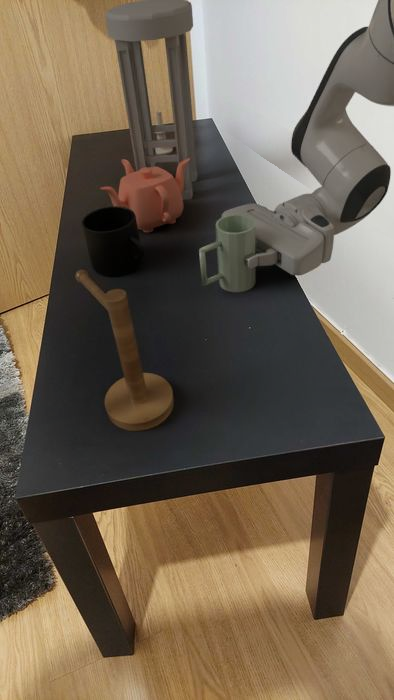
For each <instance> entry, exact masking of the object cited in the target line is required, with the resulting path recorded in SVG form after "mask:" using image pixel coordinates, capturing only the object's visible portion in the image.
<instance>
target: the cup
mask: <svg viewBox="0 0 394 700" xmlns="http://www.w3.org/2000/svg"><path fill="white" fill-rule="evenodd" d="M221 217H222V216H221ZM221 217H220V218H219V219H217V220H216V223H215V237H216V238H215V241H214V242H211V243H209V244H207V245H205V246H202V247H200V248H199V249H198V254H199V267H200V279H201V285H202V286H203V287H206V286H209V285H211V284H213V283H215V282H216V281H218V285H219V286H220V288H221V289H223V290H224V291H226V292H228V293H229V292H230V293H243V292H247V291H249V290H251V289H253V288H254V286H255V285H256V279H257V266H256V267H254V268H252V269H250V268H249V267H247V266H246V265H244V257H245V256H246V255H249V254H250V253H252V252H253V253H254V254H257V253H256V222H255V220H254V219H253V218H251V217H250V216H247V215H242V214H233V215H227V216H225V217H222V218H221ZM214 249H216V256H217V274H215V275H213V276H210V277H208V274H207V273H208V272H207V262H206V261H207V260H206V253H208V252H210V251H213V250H214Z"/></svg>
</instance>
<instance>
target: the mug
mask: <svg viewBox="0 0 394 700" xmlns="http://www.w3.org/2000/svg"><path fill="white" fill-rule="evenodd" d="M81 227H82V233H83V236H84V239H85V243H86V244H85V245H86V248H87V251H88V256H89V259H90V264H91V267H92V269H93V270H94V272H96V273H97V274H98V275H101V276H103V277H121V276H125V275H128V274H130V273H132V272H135V271H136V270H137V269H138V268H139V267H141V265H142V262H143V260H144V254H145V252H144V248H143V247H144V246H143V245H142V243H141V239H140V233H139V229H138V227H137V221H136V215H135V213H134V212H133V211H132V210H131V209H129V208H126V207H120V206H113V205H112V206H105V207H99V208H97V209H95V210H93V211H90V212H89V213H87V214H86V215H85V216H84V217H83V218H82V220H81Z"/></svg>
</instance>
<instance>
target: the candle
mask: <svg viewBox="0 0 394 700" xmlns="http://www.w3.org/2000/svg"><path fill="white" fill-rule="evenodd" d="M154 114H155V122H156V124H155V125H164V122H163V114H162V111H155V113H154ZM153 134H156V140H162V139H167V137H166V132H154V133H153ZM155 150H156V155H170V154H172V153H173V151H174V147H162V148H155Z"/></svg>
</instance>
